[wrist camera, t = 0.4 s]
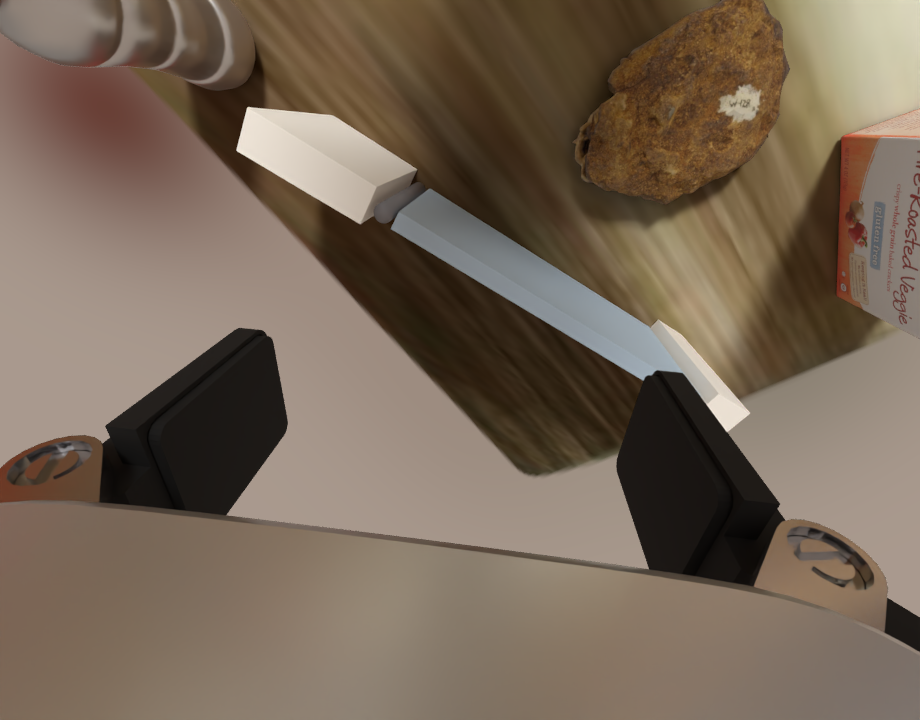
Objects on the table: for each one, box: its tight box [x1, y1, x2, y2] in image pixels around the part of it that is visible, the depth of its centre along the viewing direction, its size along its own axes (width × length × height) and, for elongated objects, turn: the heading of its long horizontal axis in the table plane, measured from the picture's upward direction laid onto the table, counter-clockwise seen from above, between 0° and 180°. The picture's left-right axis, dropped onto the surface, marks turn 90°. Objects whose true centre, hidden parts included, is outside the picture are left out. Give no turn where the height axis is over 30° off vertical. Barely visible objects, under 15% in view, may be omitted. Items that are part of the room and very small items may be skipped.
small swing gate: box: [236, 107, 750, 432], centre depth 32 cm, size 38×3×13 cm, turn 60°
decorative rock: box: [572, 0, 790, 205], centre depth 31 cm, size 11×4×15 cm
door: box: [374, 182, 700, 395], centre depth 33 cm, size 26×3×12 cm, turn 60°
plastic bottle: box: [0, 0, 255, 91], centre depth 24 cm, size 6×7×20 cm
